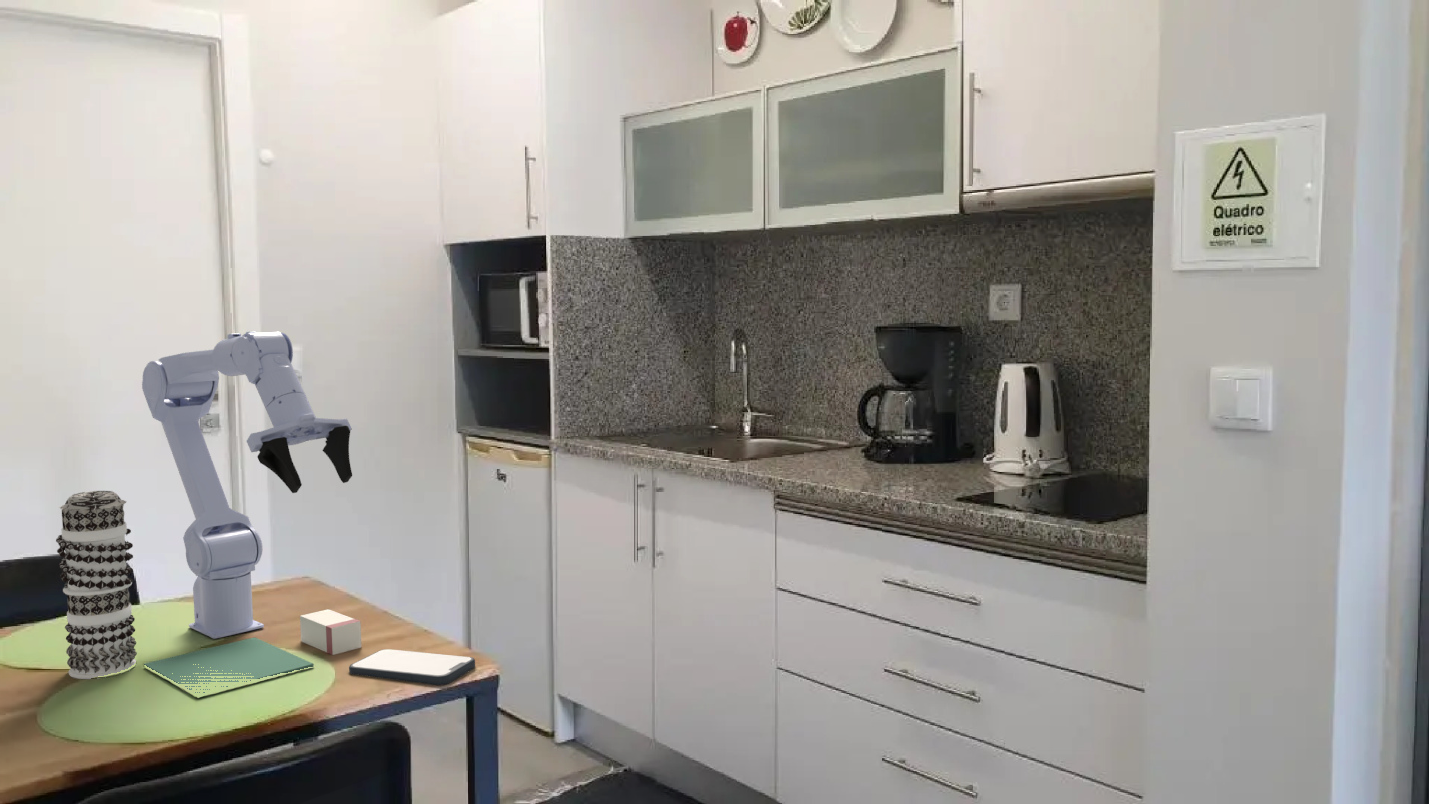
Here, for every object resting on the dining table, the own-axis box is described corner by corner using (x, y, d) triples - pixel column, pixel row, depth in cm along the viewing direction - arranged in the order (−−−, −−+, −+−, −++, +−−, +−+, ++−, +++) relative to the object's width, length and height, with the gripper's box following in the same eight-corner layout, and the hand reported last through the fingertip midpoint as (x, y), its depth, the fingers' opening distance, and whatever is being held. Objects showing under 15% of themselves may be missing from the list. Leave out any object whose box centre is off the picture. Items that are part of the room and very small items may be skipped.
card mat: (143, 667, 157) (143, 663, 157) (254, 641, 169) (254, 637, 168) (198, 699, 145) (197, 694, 145) (313, 667, 156) (313, 663, 156)
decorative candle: (65, 664, 158) (53, 491, 156) (138, 654, 163) (128, 485, 160) (64, 684, 150) (52, 502, 148) (141, 672, 155) (130, 495, 152)
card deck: (300, 641, 168) (299, 615, 168) (329, 634, 172) (328, 609, 171) (332, 655, 162) (331, 628, 162) (361, 647, 165) (360, 621, 165)
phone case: (344, 678, 154) (444, 689, 149) (344, 666, 154) (443, 677, 149) (383, 658, 162) (479, 668, 157) (383, 647, 162) (478, 656, 157)
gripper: (245, 394, 151) (282, 478, 147) (342, 382, 162) (379, 460, 158) (230, 422, 156) (265, 505, 152) (325, 408, 166) (361, 485, 162)
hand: (322, 484), depth 155 cm, fingers open, 7 cm apart
